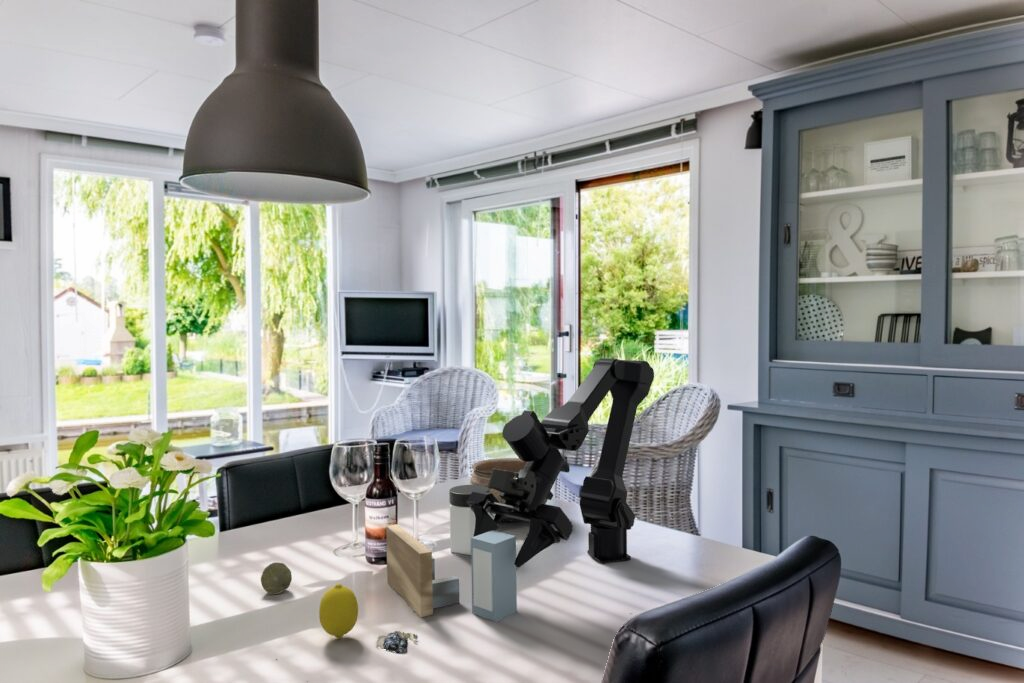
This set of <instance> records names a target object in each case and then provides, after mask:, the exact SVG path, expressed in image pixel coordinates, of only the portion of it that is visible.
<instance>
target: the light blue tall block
mask: <svg viewBox="0 0 1024 683" xmlns="http://www.w3.org/2000/svg"><path fill="white" fill-rule="evenodd" d="M470 556H471V560H470V564H471V610H472V611H471V614H473V615H476V616H478V617H479V616H480V617H482V618H485V619H487V620H490V621H494V622H498V621H500V620H502V619H503V618H505V617H508V616H509V615H512V614H513V613H517V611H518V607H517V606H518V605H517V604H518V599H517V596H518V594H517V592H518V591H517V590H518V589H517V567H516V566H515V564H514V563H515V560H516V557H517V536H516V535H513V534H508V533H505V532H501V531H498V530H496V531H493V530H492V531H489V532H486V533H483V534H480V535H477V536H475V537H472V538H471V555H470Z"/></svg>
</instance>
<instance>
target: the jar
mask: <svg viewBox="0 0 1024 683" xmlns="http://www.w3.org/2000/svg"><path fill="white" fill-rule="evenodd" d="M477 490H479V491H483V492H488V493H490V489H489V488H488V487H486V486H482V485H469V484H461V485H457V486H453V487H451V488H450V489H449V491H448V494H449V499H448V500H449V528H450V529H449V530H450V533H449V534H450V538H449V539H450V545H449V546H450V552H451V553H454V554H460V555H467V556H471V538H472V537H473V536H474V530H475V520H476V519H475V514H474V512H473V511H472V510H471V508H470V505H469V504H468V503H467V500H468V498H469V497H470V495H471V493H472V492H473V491H477Z"/></svg>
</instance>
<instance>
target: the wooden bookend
mask: <svg viewBox="0 0 1024 683" xmlns="http://www.w3.org/2000/svg"><path fill="white" fill-rule="evenodd" d="M385 527H386V528H385V532H386V534H385V536H386V573H387V574H386V576H387V578H386V580H387V583H388V584H389V585H390V587H392V588H393V590H395V592H396V593H397V594H398V595H399V596H400V597H401V598H402V599H403V600H404V602H405V603H407V604H408V606H410V608H411V609H412V610H413V611H414V612H415V613H416V614H417V615H418V616H419V617H420V618H423V617H429V616H433V615H434V609H435V608H441V607H446V606H450V605H451V606H452V605H455V604H460V578H459V577H458V576H456V575H452V576H447V577H442V578H437V579H436V572H435V571H436V568H435V565H436V564H435V561H436V560H435V558H434V557H433V552H432V550H430V549H429V547H426V546H425V545H424V544H423V543H422V542H420V541H419V540H418V539H416V537H414V535H412V534H410V533H408V532H407V530H405V529H404V528H402V527H401V526H400V525H399V524H397V523H396V524H389V525H386V526H385Z"/></svg>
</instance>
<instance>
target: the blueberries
mask: <svg viewBox="0 0 1024 683" xmlns="http://www.w3.org/2000/svg"><path fill="white" fill-rule="evenodd" d="M409 640H410V641H411V642H413V645H414V644H415V645H417V642H418V641H419V639H418V635H417V634H416V633H413V632H408V633H407V632H404V631H400V630H395V631H393V632H388V633H387V634H386V635H378V637H377V640H376V647H375V648H376V649H378V648H377V647H380V648H381V649H386V650H385V651H387V650H389V651H388V652H390V651H391V653H393V652H392V651H395V652H396V653H395V652H394V653H395V654H406V653H407V652H408V650H407V648H408V644H409Z"/></svg>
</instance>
